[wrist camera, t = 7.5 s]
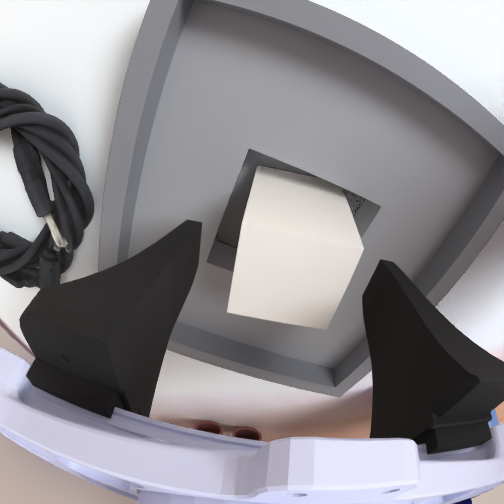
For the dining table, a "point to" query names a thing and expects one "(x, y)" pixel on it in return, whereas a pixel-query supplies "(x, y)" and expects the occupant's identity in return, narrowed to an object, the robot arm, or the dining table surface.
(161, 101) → the walled box
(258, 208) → the white rectangular block
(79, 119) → the dining table surface
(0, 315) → the dining table surface
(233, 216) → the dining table surface
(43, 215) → the cable
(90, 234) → the dining table surface
